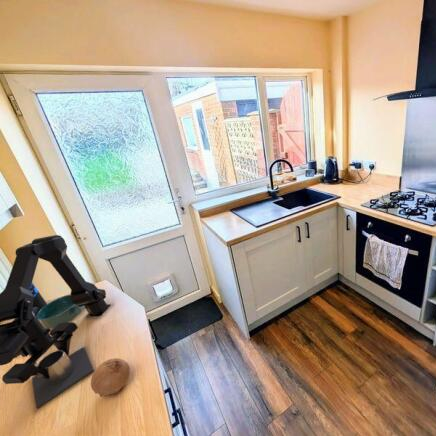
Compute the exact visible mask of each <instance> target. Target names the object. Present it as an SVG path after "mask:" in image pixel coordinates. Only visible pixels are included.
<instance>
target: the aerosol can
mask: <svg viewBox="0 0 436 436" xmlns="http://www.w3.org/2000/svg"><path fill="white" fill-rule="evenodd" d="M30 292H31V293H32V295H33V296H34V300H33V308H38V310H37V311H36V313H35V316H36V315H37V313H38V312H39V310H40V309H41V308H43V307H44V306H45V305H47V304H48V303H47V302H46V300H45V298H44V297H43V295H42V294H41V293H40V291H39V290H38V288H37V287H36V286H35V284H34V283H33V282H32V284H31V288H30Z"/></svg>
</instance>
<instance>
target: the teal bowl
mask: <svg viewBox="0 0 436 436" xmlns="http://www.w3.org/2000/svg"><path fill="white" fill-rule="evenodd" d="M69 296H70V294H66V295H63V296H61V297H58V298H56V299H53V300H52V301H50V302H48V303H47V305H45V306H44V307H43V308H41V309H40V310H39V312H38V313H37V315H36V317H37V319H38V320H39V321H40V323H41V324H42V325H43V327H44V328H45V329H48V328H49V329H54V328H55V327H56V326H57V325H58V324H59V323H68V322H72V321H73V320H74V319H76V318H77V317H78V316H79V315H80V314H82V312H83V311H84V309H85V307H84V306H81V307H79V306H77V305H75V304H73V303H72V301H71V300H70V299H69Z"/></svg>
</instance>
